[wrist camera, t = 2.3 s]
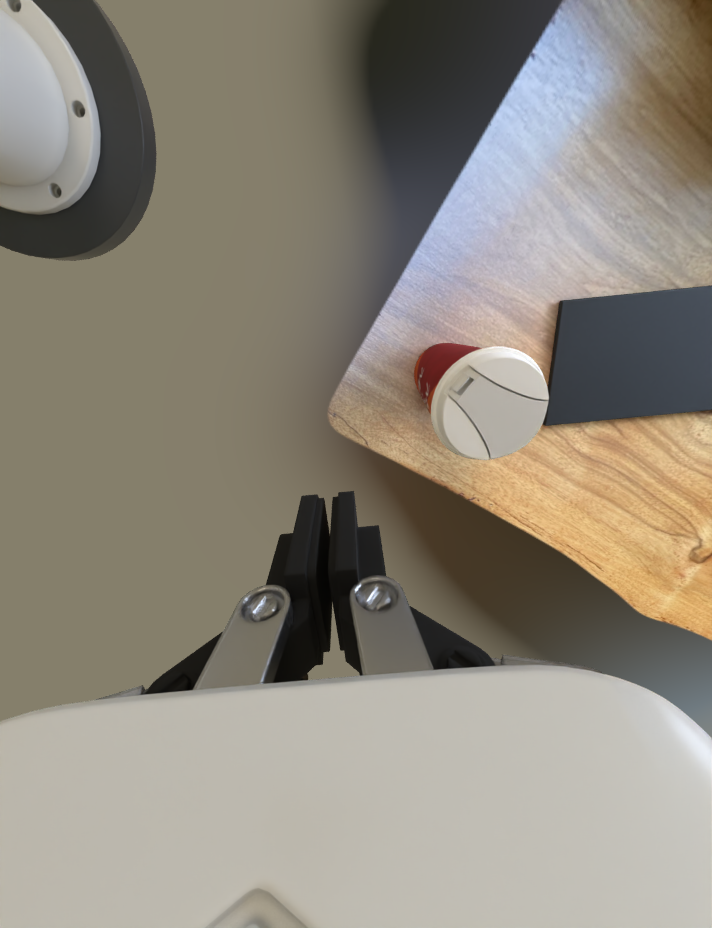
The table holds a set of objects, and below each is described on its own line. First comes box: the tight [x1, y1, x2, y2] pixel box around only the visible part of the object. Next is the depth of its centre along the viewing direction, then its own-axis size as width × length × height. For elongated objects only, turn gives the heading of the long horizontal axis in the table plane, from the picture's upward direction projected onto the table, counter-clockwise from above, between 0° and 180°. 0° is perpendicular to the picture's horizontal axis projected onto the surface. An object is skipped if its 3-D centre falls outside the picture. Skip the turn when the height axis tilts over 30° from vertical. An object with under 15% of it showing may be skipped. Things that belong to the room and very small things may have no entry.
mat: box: [543, 286, 712, 426], centre depth 35 cm, size 30×12×1 cm, turn 95°
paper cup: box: [414, 343, 549, 460], centre depth 29 cm, size 8×8×14 cm
